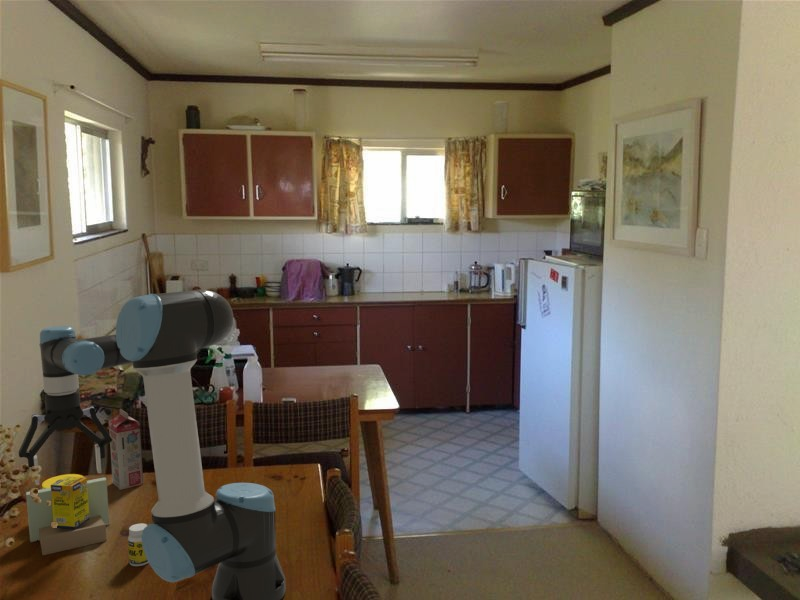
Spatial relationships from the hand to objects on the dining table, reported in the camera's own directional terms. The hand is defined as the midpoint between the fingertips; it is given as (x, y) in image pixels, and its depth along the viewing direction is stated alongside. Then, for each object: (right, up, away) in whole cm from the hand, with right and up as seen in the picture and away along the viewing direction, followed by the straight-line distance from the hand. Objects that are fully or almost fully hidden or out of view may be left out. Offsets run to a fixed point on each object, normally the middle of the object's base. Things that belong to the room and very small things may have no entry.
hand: (68, 477), depth 170 cm
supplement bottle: (+20, -17, -9) cm, 28 cm away
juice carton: (0, -11, +37) cm, 39 cm away
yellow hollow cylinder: (-8, -14, +16) cm, 23 cm away
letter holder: (0, -16, +3) cm, 16 cm away
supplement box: (0, -12, +2) cm, 12 cm away
